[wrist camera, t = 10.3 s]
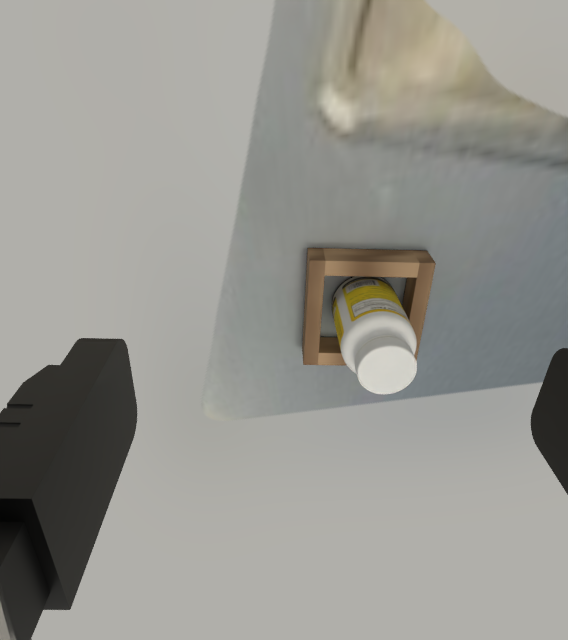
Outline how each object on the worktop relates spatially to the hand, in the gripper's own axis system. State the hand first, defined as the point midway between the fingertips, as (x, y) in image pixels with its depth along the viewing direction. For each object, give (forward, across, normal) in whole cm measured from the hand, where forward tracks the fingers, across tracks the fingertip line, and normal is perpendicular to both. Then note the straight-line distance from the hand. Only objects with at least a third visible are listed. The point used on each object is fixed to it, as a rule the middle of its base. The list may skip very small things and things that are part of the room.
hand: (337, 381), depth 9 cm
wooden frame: (+28, -6, +13) cm, 32 cm away
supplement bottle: (+28, -6, +13) cm, 32 cm away
